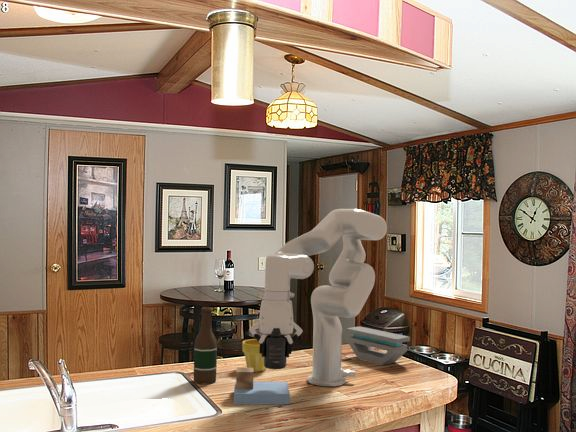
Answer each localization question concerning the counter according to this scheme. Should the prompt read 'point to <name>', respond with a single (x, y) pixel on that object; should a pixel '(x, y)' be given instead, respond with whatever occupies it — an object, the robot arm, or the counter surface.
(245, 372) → the block
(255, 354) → the plant pot
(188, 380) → the counter surface
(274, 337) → the supplement bottle
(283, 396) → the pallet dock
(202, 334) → the beer bottle
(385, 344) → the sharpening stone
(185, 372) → the counter surface
